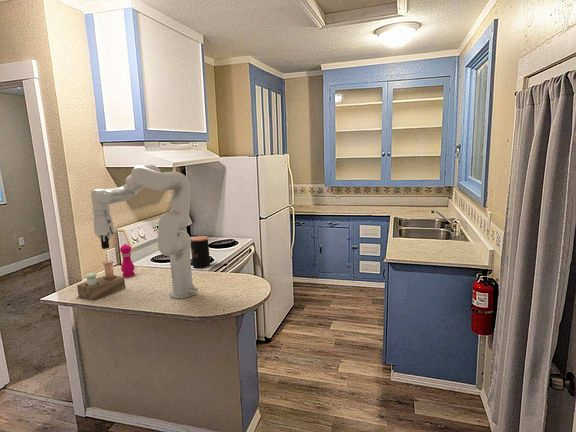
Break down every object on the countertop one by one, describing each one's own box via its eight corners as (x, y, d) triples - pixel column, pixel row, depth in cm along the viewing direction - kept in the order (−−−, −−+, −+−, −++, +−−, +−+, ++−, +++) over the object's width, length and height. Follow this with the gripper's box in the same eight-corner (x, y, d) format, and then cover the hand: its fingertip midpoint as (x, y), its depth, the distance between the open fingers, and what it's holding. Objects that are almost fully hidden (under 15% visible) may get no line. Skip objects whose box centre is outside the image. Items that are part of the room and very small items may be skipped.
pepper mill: (119, 276, 213) (115, 243, 210) (129, 273, 219) (126, 240, 216) (127, 278, 210) (123, 244, 206) (138, 274, 216) (134, 241, 213)
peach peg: (117, 279, 194) (114, 260, 192) (109, 282, 189) (106, 263, 188) (111, 278, 196) (108, 259, 194) (103, 281, 192) (100, 262, 190)
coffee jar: (191, 265, 230) (188, 237, 227) (208, 262, 235) (205, 235, 232) (194, 269, 221) (191, 240, 218) (211, 267, 225) (209, 238, 222)
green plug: (100, 293, 186) (98, 273, 184) (92, 296, 181) (89, 276, 180) (94, 292, 188) (92, 272, 186) (86, 295, 184) (83, 275, 182)
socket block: (125, 287, 194) (124, 276, 193) (93, 300, 178) (92, 288, 177) (110, 284, 200) (109, 274, 199) (78, 296, 184) (77, 285, 183)
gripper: (117, 212, 187) (121, 247, 190) (98, 211, 194) (102, 245, 197) (104, 215, 180) (108, 251, 183) (85, 213, 187) (89, 248, 190)
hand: (105, 248), depth 190 cm, fingers closed
